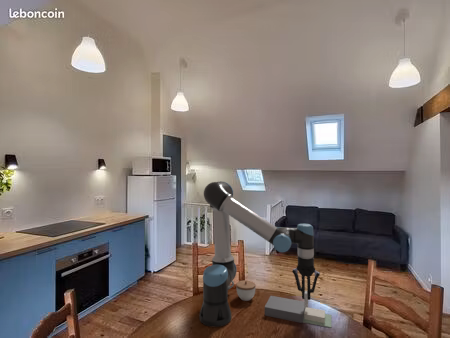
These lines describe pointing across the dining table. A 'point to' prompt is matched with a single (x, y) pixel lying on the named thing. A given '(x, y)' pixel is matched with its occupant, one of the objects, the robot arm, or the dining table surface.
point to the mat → (326, 324)
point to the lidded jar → (245, 289)
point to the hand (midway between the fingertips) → (306, 305)
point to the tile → (314, 315)
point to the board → (285, 309)
